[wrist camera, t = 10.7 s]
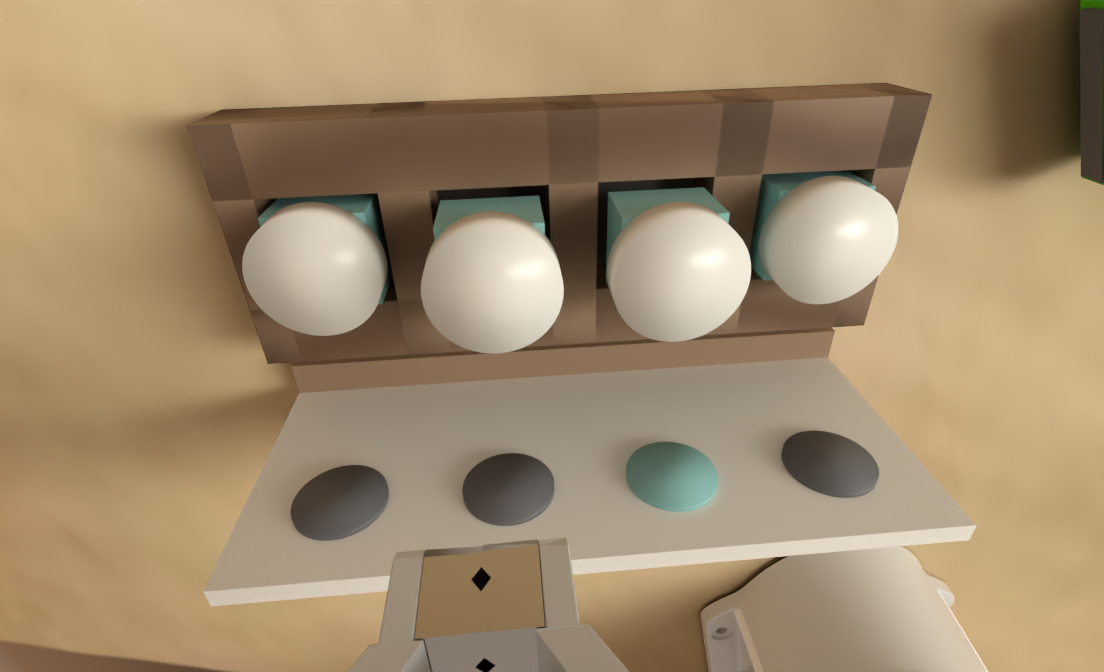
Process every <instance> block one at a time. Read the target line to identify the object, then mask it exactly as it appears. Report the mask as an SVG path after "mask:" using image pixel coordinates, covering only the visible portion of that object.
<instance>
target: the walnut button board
mask: <svg viewBox="0 0 1104 672" xmlns="http://www.w3.org/2000/svg"><path fill="white" fill-rule="evenodd" d="M931 96H932V94H928V93H924V92H920V91H916V90H912V89H908V88H904V87H900V86H896V85H892V84H888V83H871V84H847V85H822V86H797V87H773V88H748V89H723V90H698V91H674V92H649V93H624V94H600V95H575V96H550V97H526V98H501V99H476V100H451V101H427V102H402V103H377V104H353V105H328V106H303V107H279V108H254V109H229V110H221V111H218V112H216V113H214V114H212V115H210V116H207V117H205V118H203V119H201V120H199V121H196V122H194V123H192V124H190V125H188V126H187V127H188V130H189V133H190V135H191V138H192V141H193V144H194V147H195V150H196V153H197V156H198V159H199V162H200V165H201V168H202V171H203V174H204V177H205V180H206V183H207V186H208V188H209V191H210V194H211V197H212V200H213V203H214V206H215V209H216V212H217V215H218V218H219V221H220V224H221V227H222V230H223V233H224V236H225V239H226V242H227V244H228V247H229V250H230V253H231V256H232V259H233V262H234V265H235V268H236V271H237V274H238V277H239V280H240V283H241V286H242V289H243V292H244V295H245V298H246V300H247V303H248V306H249V309H250V312H251V315H252V318H253V321H254V324H255V327H256V330H257V333H258V336H259V339H260V342H261V345H262V348H263V351H264V353H265V356H266V359H267V362H268V364H273V363H288V362H304V361H319V360H335V359H350V358H366V357H381V356H396V355H412V354H427V353H443V352H458V351H471V350H468V349H465V348H463V347H461V346H458V345H456V344H455V343H453V342H451V341H450V340H448V339H447V338H446V337H444V336H443V335H442V334H441V333H440V332H439V331H438V330H437V329H436V328H435V327H434V325H433V324H432V323H431V321H430V320H429V318H428V316H427V314H426V312H425V309H424V307H423V303H422V298H421V280H422V276H423V271H424V267H425V263H426V260H427V256H428V253H429V250H430V248H431V246H432V244H433V243H434V241H435V240H434V233H433V226H434V223H435V219H436V215H437V211H438V207H439V203H440V201H441V200H461V199H481V198H500V197H520V196H539V198H540V203H541V208H542V213H543V218H544V224H545V235H546V237H547V238H548V239H549V241H550V242H551V244H552V246H553V247H554V249H555V252H556V254H557V257H558V261H559V266H560V270H561V275H562V279H563V287H564V295H563V302H562V306H561V309H560V312H559V314H558V316H557V318H556V320H555V322H554V323H553V325H552V326H551V327H550V329H549V330H548V331H547V332H546V333H545V334H544V335H543V336H541V337H540V338H539V339H538V340H536V341H535V342H533V343H532V344H530V345H528V346H526V347H535V346H551V345H566V344H581V343H597V342H612V341H628V340H643V339H650V338H647V337H645V336H643V335H641V334H639V333H637V332H636V331H634V330H633V329H632V328H631V327H630V326H629V325H628V324H627V323H626V322H625V321H624V320H623V318H622V317H621V315H620V314H618V312H617V309H616V306H615V304H614V301H613V298H612V296H611V293H610V290H609V287H608V285H607V282H606V253H607V214H608V192H620V191H640V190H660V189H680V188H700V187H704V188H705V189H706V190H707V191H708V192H709V193H710V194H711V195H712V196H713V197H714V198H715V199H716V200H717V201H718V202H719V203H720V204H721V205H722V206H723V207H724V208H725V209H726V210H727V211H728V212H729V213H730V215H729V222H728V224H729V225H730V226H731V227H732V228H733V229H734V230H735V231H736V232H737V233H738V235H739V236H740V237H741V238H742V240H743V241H744V243H745V245H746V247H747V249H748V252H750V246H751V240H752V234H753V228H754V222H755V216H756V210H757V204H758V198H759V192H760V185H761V179H762V174H780V173H800V172H821V171H841V170H847V171H848V172H850V173H852V174H854V175H856V176H858V177H860V178H862V179H863V180H865V181H867V182H869V183H871V184H873V185H875V186H876V188H875V191H876V192H878V193H880V194H881V195H883V196H884V197H885V198H886V199H887V200H888V201H889V202H890V203H891V205H892V207H893V208H894V210H895V213H896V214H897V211H898V208H899V204H900V201H901V198H902V194H903V191H904V187H905V184H906V181H907V177H908V174H909V171H910V167H911V164H912V160H913V157H914V154H915V150H916V147H917V144H918V140H919V137H920V133H921V130H922V127H923V123H924V120H925V117H926V113H927V110H928V106H929V103H930V100H931ZM373 193H378V198H379V203H380V209H381V214H382V219H383V225H384V230H385V236H386V241H387V246H388V252H389V257H390V263H391V268H392V273H393V276H392V279H391V281H390V284H389V287H388V290H387V292H386V295H385V298H384V301H383V304H378V305H377V307H376V309H375V311H374V312H373V313H372V315H371V316H370V317H369V318H368V319H367V320H366V321H365V322H364V323H363V324H361V325H360V326H358V327H357V328H355V329H353V330H351V331H348V332H345V333H342V334H338V335H330V336H317V335H309V334H304V333H300V332H297V331H294V330H292V329H289V328H287V327H285V326H283V325H281V324H280V323H278V322H276V321H275V320H273V319H272V318H271V317H269V316H268V315H267V314H266V313H265V312H264V311H263V310H262V309H261V308H260V307H259V306H258V305H257V304H256V302H255V301H254V299H253V298H252V296H251V295H250V293H249V291H248V289H247V286H246V284H245V281H244V277H243V270H242V260H243V255H244V251H245V248H246V246H247V243H248V242H249V240H250V239H251V237H252V236H253V235H254V234H255V232H256V231H257V230H258V229H259V228H260V224H259V221H258V217H259V216H260V215H261V214H262V213H263V212H264V211H266V210H267V209H268V208H269V207H270V206H271V205H272V204H273V203H274V202H275V201H276V200H277V199H278V198H291V197H312V196H332V195H353V194H373ZM877 278H878V276H877V277H876V278H875V279H874V280H873V281H872V282H871V283H870V284H868V285H867V286H866V287H865V288H863V289H862V290H860V291H859V292H857V293H855V294H854V295H852V296H850V297H848V298H845V299H843V300H840V301H837V302H833V303H828V304H807V303H803V302H800V301H797V300H795V299H793V298H792V297H790V296H788V295H787V294H786V293H785V292H784V291H783V290H782V289H781V288H780V287H779V286H778V285H777V284H776V283H775V281H774V280H767V281H764V280H763V279H762V278H761V277H760V276H759V275H758V274H757V273H756V271H755V270H754V269H753V268H752V267H751V278H750V282H749V287H748V289H747V292H746V294H745V296H744V298H743V300H742V302H741V304H740V305H739V307H738V308H737V309H736V311H735V312H734V313H733V314H732V315H731V316H730V317H729V318H728V319H727V320H726V321H725V322H724V323H723V324H721V325H720V326H719V327H717V328H716V329H714V330H712V331H711V332H709V333H707V334H704V335H702V336H705V335H720V334H736V333H751V332H766V331H782V330H797V329H813V328H828V327H844V326H859V325H864V322H865V319H866V316H867V312H868V309H869V305H870V302H871V299H872V295H873V292H874V289H875V285H876V282H877Z"/></svg>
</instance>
